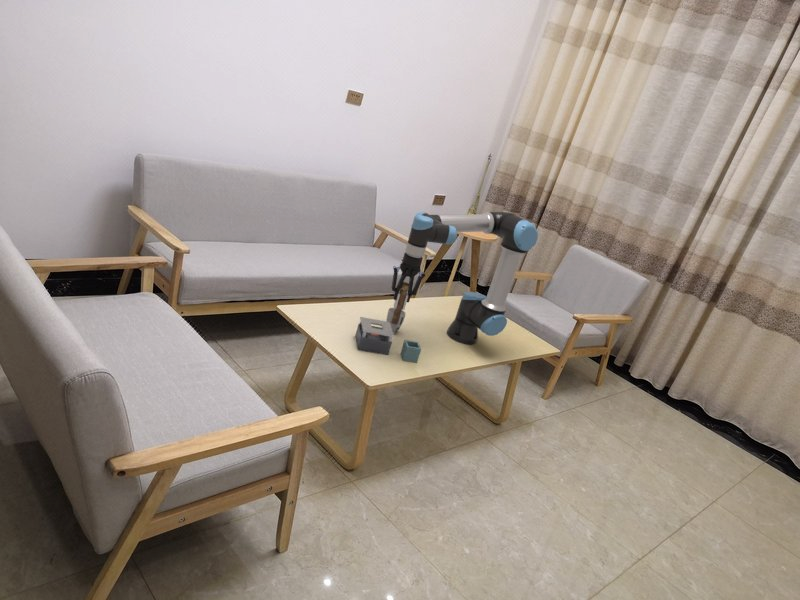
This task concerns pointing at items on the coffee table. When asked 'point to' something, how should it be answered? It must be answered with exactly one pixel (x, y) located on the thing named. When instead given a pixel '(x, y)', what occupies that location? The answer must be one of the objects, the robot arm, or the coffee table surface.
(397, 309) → the brown square bar
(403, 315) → the cup
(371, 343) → the grey square box
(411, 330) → the coffee table surface
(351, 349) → the coffee table surface
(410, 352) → the holder
